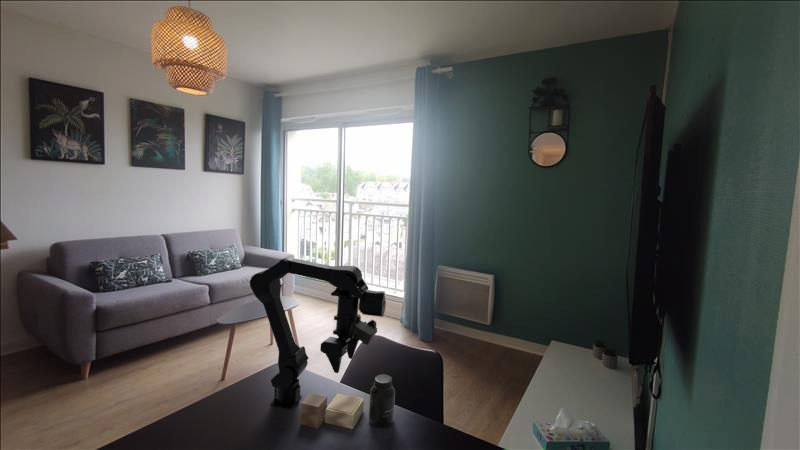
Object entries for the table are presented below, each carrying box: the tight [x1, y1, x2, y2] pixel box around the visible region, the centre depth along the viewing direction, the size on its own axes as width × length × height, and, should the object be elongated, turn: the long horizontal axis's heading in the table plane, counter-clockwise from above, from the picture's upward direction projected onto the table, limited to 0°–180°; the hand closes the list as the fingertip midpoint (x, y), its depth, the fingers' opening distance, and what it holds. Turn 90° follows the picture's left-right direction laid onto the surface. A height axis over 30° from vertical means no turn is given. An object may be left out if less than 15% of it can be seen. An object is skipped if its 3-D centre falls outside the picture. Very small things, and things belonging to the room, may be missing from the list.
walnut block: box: [300, 392, 328, 429], centre depth 97 cm, size 5×5×6 cm
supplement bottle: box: [368, 374, 396, 428], centre depth 98 cm, size 7×7×12 cm
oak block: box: [324, 393, 365, 430], centre depth 99 cm, size 8×8×4 cm
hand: (343, 365), depth 102 cm, fingers open, 9 cm apart
